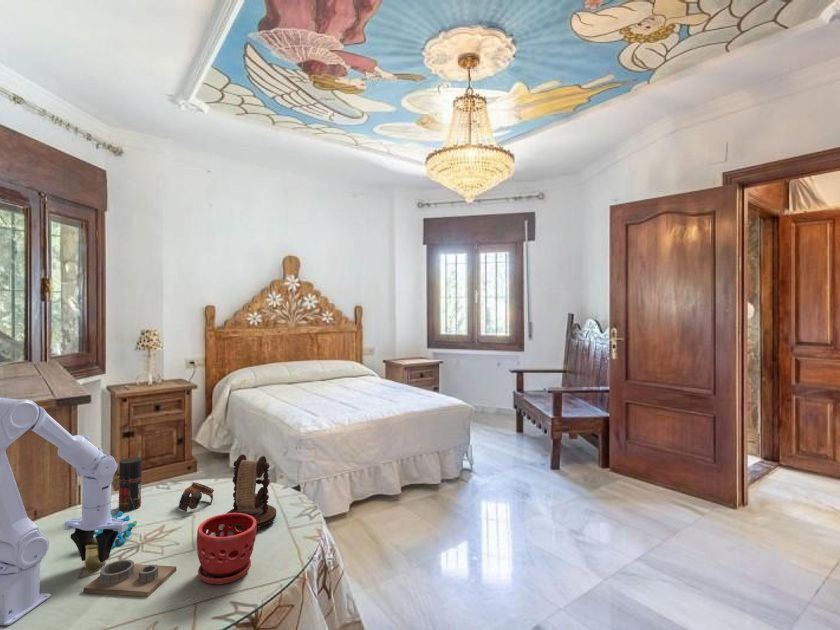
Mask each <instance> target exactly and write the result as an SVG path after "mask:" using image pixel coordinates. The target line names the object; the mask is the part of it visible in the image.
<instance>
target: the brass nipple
mask: <svg viewBox="0 0 840 630" xmlns="http://www.w3.org/2000/svg"><path fill="white" fill-rule="evenodd" d="M85 548H86V551H85V561H84V570H85V571H87V572H91V571H97V570H99V569H100V570H101V569H102V568H103V567H104V566H106V560H105V561H104V562H100V560H99V546H98V542H97V540H96V538H94V539H91V540H89V541H87V542H86V543H85Z"/></svg>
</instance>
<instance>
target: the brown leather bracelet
mask: <svg viewBox="0 0 840 630" xmlns="http://www.w3.org/2000/svg"><path fill="white" fill-rule="evenodd" d="M214 491H215V489H214V488H212V487H210V486H207V485H205V484H201V483H199V482H192V484H191V485H190V486H188V487H187V488H185V489H184V491H183V492H182V494H181V497H180V499H179V503H178V509H179V510H181V511H184V512H188V508H189V509H190V510H194V509H197V508H198V506H199V502H200V501H201V499H203V498H202V497H203V496H202V495H206V496H209V497H210V503H211V504H212V503H213V501H214V494H213V493H214ZM210 503H209V504H210Z"/></svg>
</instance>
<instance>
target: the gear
mask: <svg viewBox="0 0 840 630" xmlns="http://www.w3.org/2000/svg"><path fill="white" fill-rule="evenodd" d="M114 512H115V511H114V510H111V515H112V516H113V515H114ZM123 515H124V512H122V511H119V510H118V512H117V514H116V515H115V516H114V517H113V518H115V519H118V520H122V521H127V522H129V521H130V519H131V518H130V515H126V516H125V517H123V518H122V516H123ZM120 517H121V518H120ZM137 524H138V521H137V520H134V521H133V522H129V523H127V529H126V530H125V531H123V532H122V533H118V535H117V537H116V539H115V541H114V543H113V545H112V548H111V549H114V548H115V547H116V545H117V544H116V540H117V539H119V541H118V545H122V544H124V543H125V542H126V539H125V538H129V537H130V536H131V534H132V533H133V532H132V530H133V528H135V527H136V526H137ZM102 532H103V530H95V532H94V535H95V536H93V539H94V538H96V536H97V535H98V534H100V533H102ZM123 534H124V535H125V538H124V537H123Z"/></svg>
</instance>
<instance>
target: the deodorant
mask: <svg viewBox="0 0 840 630" xmlns="http://www.w3.org/2000/svg"><path fill="white" fill-rule="evenodd" d="M142 460H143V459H142V457H127V458H123V459H121V460H119V473H118V475H119V476H118V478H119V479H118V481H119V482H118V512H119V511H121V512H123V513H124V512H125V513H126V512H130V511H131V512H132V511H135V510H137V509H139V508H141V507H142V506H141V505H142V471H143V470H142V469H143V468H142V465H143V461H142Z"/></svg>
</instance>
